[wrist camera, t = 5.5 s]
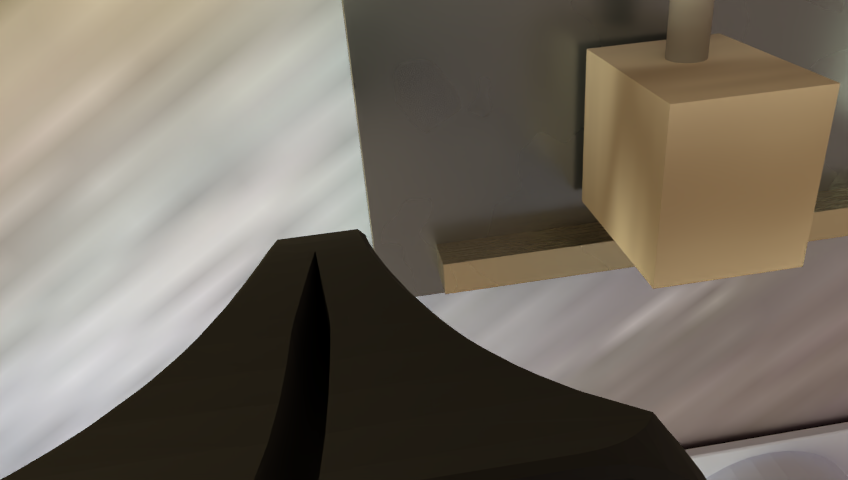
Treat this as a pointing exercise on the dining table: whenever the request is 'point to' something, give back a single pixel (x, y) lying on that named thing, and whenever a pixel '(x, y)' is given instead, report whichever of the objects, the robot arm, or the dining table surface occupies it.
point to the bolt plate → (529, 126)
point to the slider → (703, 151)
